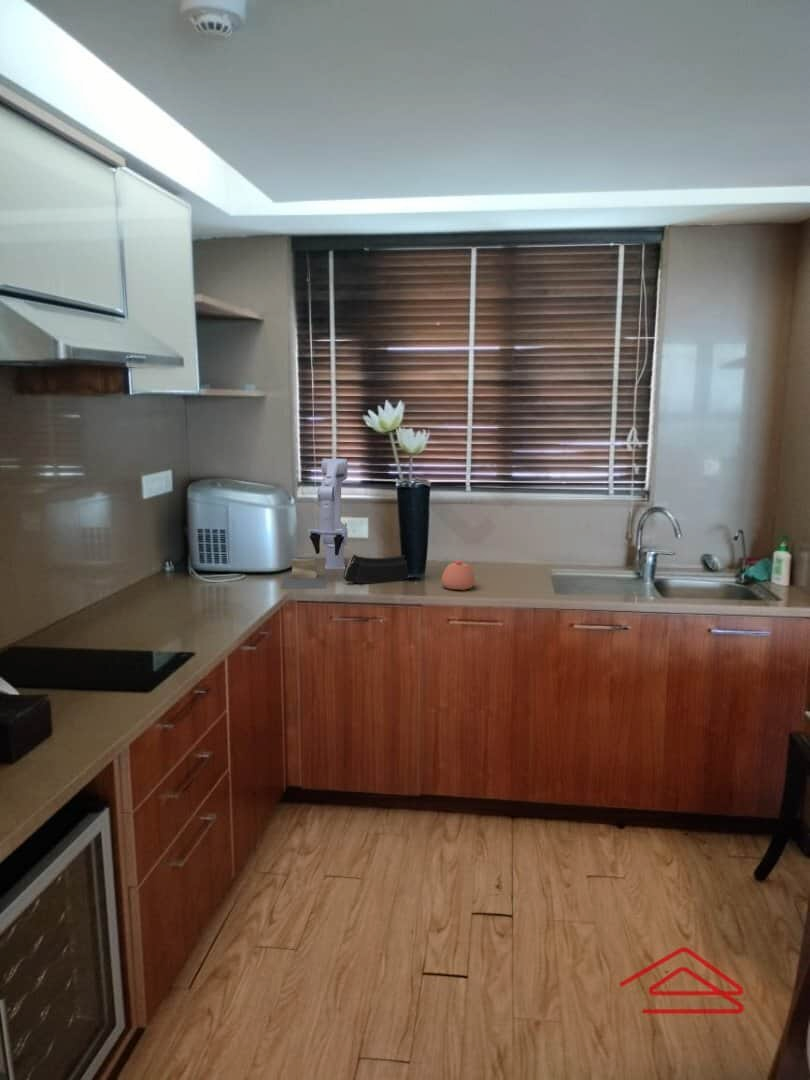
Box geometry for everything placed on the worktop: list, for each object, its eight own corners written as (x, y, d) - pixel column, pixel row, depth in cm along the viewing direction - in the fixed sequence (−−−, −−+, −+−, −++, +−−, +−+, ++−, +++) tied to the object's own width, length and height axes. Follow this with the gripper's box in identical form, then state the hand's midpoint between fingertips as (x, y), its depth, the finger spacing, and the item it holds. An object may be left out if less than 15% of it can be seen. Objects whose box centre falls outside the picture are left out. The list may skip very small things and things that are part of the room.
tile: (292, 577, 283) (292, 559, 282) (316, 576, 284) (316, 558, 283) (292, 578, 281) (292, 560, 280) (316, 578, 282) (316, 560, 281)
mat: (283, 575, 286) (283, 575, 286) (325, 575, 288) (325, 574, 288) (281, 589, 265) (281, 588, 265) (326, 588, 267) (326, 588, 267)
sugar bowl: (437, 590, 267) (437, 562, 265) (447, 582, 280) (448, 555, 278) (470, 593, 263) (471, 565, 261) (479, 584, 276) (480, 557, 274)
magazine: (422, 553, 287) (353, 536, 273) (426, 555, 284) (357, 538, 270) (410, 596, 287) (341, 581, 273) (414, 598, 285) (344, 583, 270)
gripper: (304, 518, 274) (304, 554, 276) (341, 520, 270) (341, 557, 272) (312, 516, 281) (312, 551, 283) (348, 518, 277) (348, 553, 279)
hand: (327, 554), depth 278 cm, fingers open, 7 cm apart
